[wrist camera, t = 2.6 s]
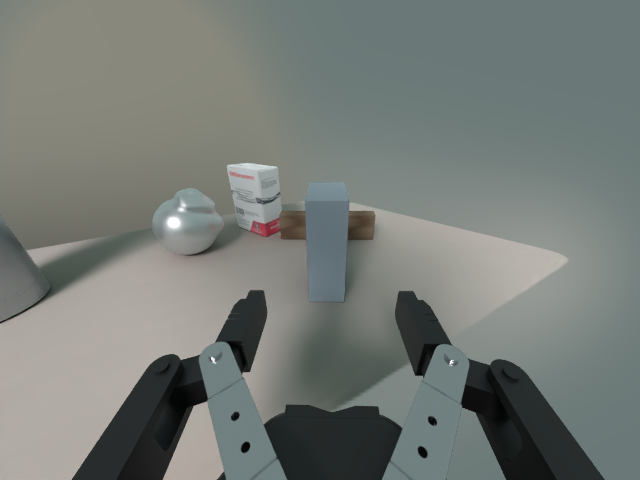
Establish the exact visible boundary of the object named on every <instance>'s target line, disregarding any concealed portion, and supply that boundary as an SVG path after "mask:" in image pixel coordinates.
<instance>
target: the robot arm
mask: <svg viewBox="0 0 640 480" xmlns="http://www.w3.org/2000/svg"><path fill="white" fill-rule="evenodd" d="M49 290H50V284H49V282H48V281H47V279H46V278H45V277H44V275H43V274H42V272H41V271H40V270H39V268H38V267H37V265H36V264H35V263H34V261H33V260H32V258H31V257H30V255H29V254H28V253H27V251H26V250H25V248H24V247H23V246H22V244H21V243H20V242H19V240H18V239H17V237H16V236H15V234H14V233H13V232H12V231H11V229H10V228H9V226H8V225H7V224H6V222H5V221H4V219H3V218H2V216H1V215H0V322H1V321H3V320H5V319H7V318H10V317H12V316H14V315H16V314H18V313H20V312H21V311H23V310H25V309H27V308H28V307H30V306H32V305H33V304H35V303H36V302H38V301H39V300H40V299H41V298H43V297H44V296H45V295H46V294H47V292H48V291H49ZM395 317H396V322H397V325H398V328H399V331H400V333H401V336H402V339H403V342H404V345H405V348H406V351H407V353H408V356H409V359H410V362H411V365H412V367H413V371H414V373H415V375H416V376H423V378H424V379H423V381H422V382H421V385H420V387H419V390H418V392H417V395H416V397H415V400H414V402H413V405H412V407H411V410H410V412H409V415H408V417H407V420H406V422H405V425H404V427H403V428H401V427H400V426H399V425H398V424H396V423H395V422H393V421H392V420H391V419H389V418H387V417H385V416H382V415H379V409H378V407H374V406H354V407H350V408H347V409H343V410H340V411H336V412H328V411H325V410H322V409H319V408H316V407H313V406H310V405H286V410H285V413H281V414H279V415H277V416H275V417H273V418H272V419H270V420H269V421H267V422H266V423H265V424H264V425H263V423H262V420H261V418H260V415H259V413H258V411H257V408H256V406H255V403H254V401H253V399H252V396H251V394H250V391H249V389H248V386H247V384H246V382H245V379H244V378H243V377H242V373H243V372H250V370H251V367H252V364H253V361H254V357H255V354H256V351H257V348H258V345H259V341H260V338H261V335H262V332H263V329H264V325H265V322H266V319H267V306H266V301H265V295H264V291H263V290H250V291H249V293H248V296H247V298H246V299H240V300H239V301H238V302H237V303H236V304H235V305H234V307H233V309H232V311H231V313H230V314H229V316H228V319H227V320H226V322H225V324H224V326H223V328H222V330H221V332H220V334H219V336H218V338H217V340H216V342H215V343H213V344H211V345H209V346H208V347H206V348H205V349H204V350H203V351H202V353H201V354H200V355H198V356H195V357H191V358H187V359H184V360H180V358H179V357H178V356H177V355H174V354H169V355H165V356H162V357H160V358H158V359H157V360H155V361H154V362H153V363H151V364H150V365H149V367H148V368H147V369H146V371H145V372H144V374H143V375H142V377H141V378H140V380H139V381H138V383H137V384H136V385H135V387H134V388H133V390H132V391H131V393H130V394H129V396H128V397H127V399H126V400H125V402H124V403H123V405H122V406H121V408H120V409H119V411H118V412H117V414H116V415H115V416H114V418H113V419H112V421H111V422H110V424H109V425H108V427H107V428H106V430H105V431H104V433H103V434H102V436H101V437H100V439H99V440H98V442H97V443H96V445H95V446H94V447H93V449H92V450H91V452H90V453H89V455H88V456H87V458H86V459H85V461H84V462H83V464H82V465H81V467H80V468H79V470H78V471H77V473H76V474H75V476H74V477H73V478H72V480H163V477H164V475H165V473H166V470H167V468H168V466H169V463H170V461H171V458H172V456H173V454H174V451H175V449H176V447H177V444H178V442H179V439H180V437H181V435H182V432H183V430H184V428H185V425H186V423H187V420H188V418H189V416H190V413H191V411H192V409H193V406H194V405H197V404H200V403H203V402H206V401H207V402H208V407H209V411H210V415H211V419H212V423H213V427H214V431H215V435H216V439H217V444H218V448H219V452H220V456H221V460H222V464H223V468H224V472H223V473H222V474H221V475H220V477H219V478H218V479H217V480H446V476H447V472H448V467H449V463H450V459H451V454H452V450H453V445H454V441H455V436H456V432H457V427H458V423H459V418H460V414H461V409H462V408H465V409H468V410H471V411H473V412H475V413H476V415H477V417H478V419H479V421H480V423H481V426H482V428H483V430H484V432H485V434H486V437H487V439H488V441H489V443H490V445H491V447H492V450H493V452H494V454H495V456H496V458H497V460H498V463H499V465H500V467H501V469H502V471H503V474H504V476H505V478H506V480H604V478H603V477H602V476H601V474H600V473H599V472H598V470H597V469H596V467H595V466H594V465H593V463H592V462H591V460H590V459H589V458H588V456H587V455H586V454H585V452H584V451H583V450H582V448H581V447H580V446H579V444H578V443H577V441H576V440H575V439H574V437H573V436H572V435H571V433H570V432H569V431H568V430H567V428H566V427H565V425H564V424H563V422H562V421H561V420H560V418H559V417H558V416H557V414H556V413H555V412H554V410H553V409H552V408H551V406H550V405H549V404H548V402H547V401H546V399H545V398H544V397H543V395H542V394H541V393H540V391H539V390H538V389H537V387H536V386H535V384H534V383H533V382H532V380H531V379H530V378H529V376H528V375H527V374H526V373H525V372H524V371H523V370H522V369H521V368H520V367H518V366H517V365H515V364H513V363H511V362H509V361H506V360H501V359H499V360H498V359H497V360H494V361H492V363H491V365H487V364H483V363H480V362H477V361H473V360H470V359H468V358H467V357H466V355H465V354H464V353H463V352H462V351H461V350H459V349H458V348H456V347H454V346H452V344H451V342H450V341H449V339H448V337H447V335H446V333H445V332H444V330H443V328H442V326H441V325H440V323H439V322H438V319H437V318H436V316H435V314H434V312H433V310H432V309H431V307H430V306H429V305H428V304H427V303H426V302H424V301H423V300H418V299H417V297H416V295H415V293H414V292H413V291H399V293H398V298H397V304H396V309H395Z"/></svg>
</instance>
